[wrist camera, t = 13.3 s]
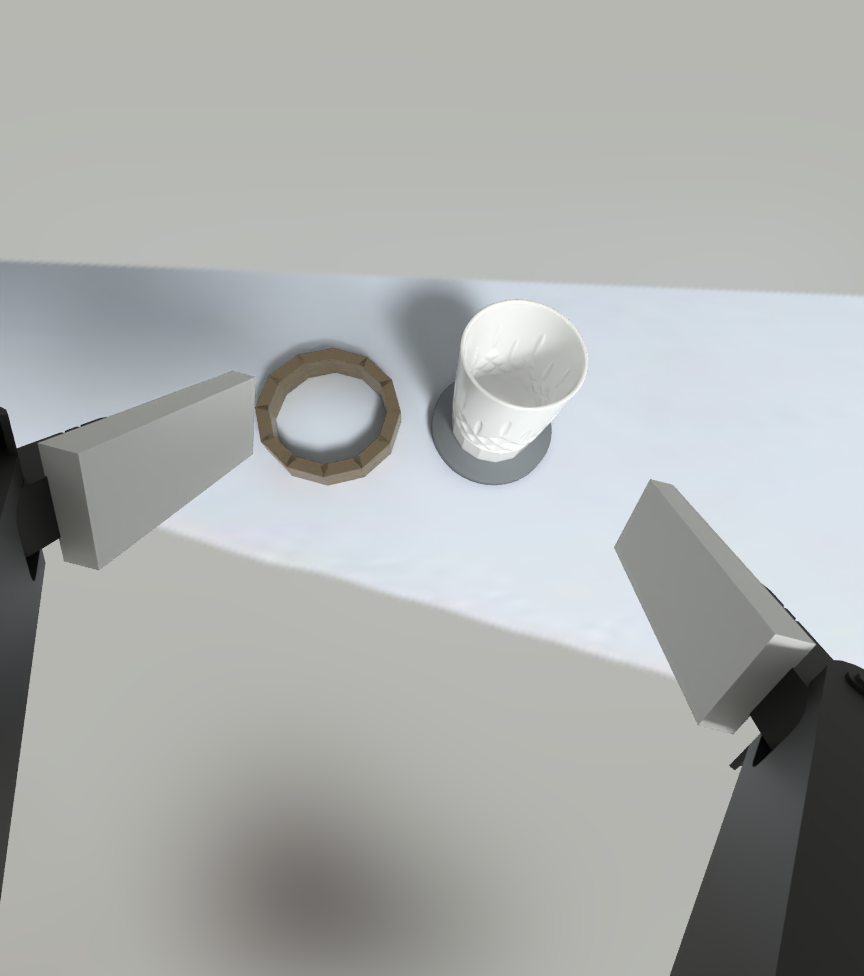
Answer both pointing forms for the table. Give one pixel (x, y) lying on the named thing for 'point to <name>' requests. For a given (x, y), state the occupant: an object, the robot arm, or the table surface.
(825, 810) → the robot arm
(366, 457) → the collar
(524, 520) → the table surface
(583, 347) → the white cup
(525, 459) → the coaster
